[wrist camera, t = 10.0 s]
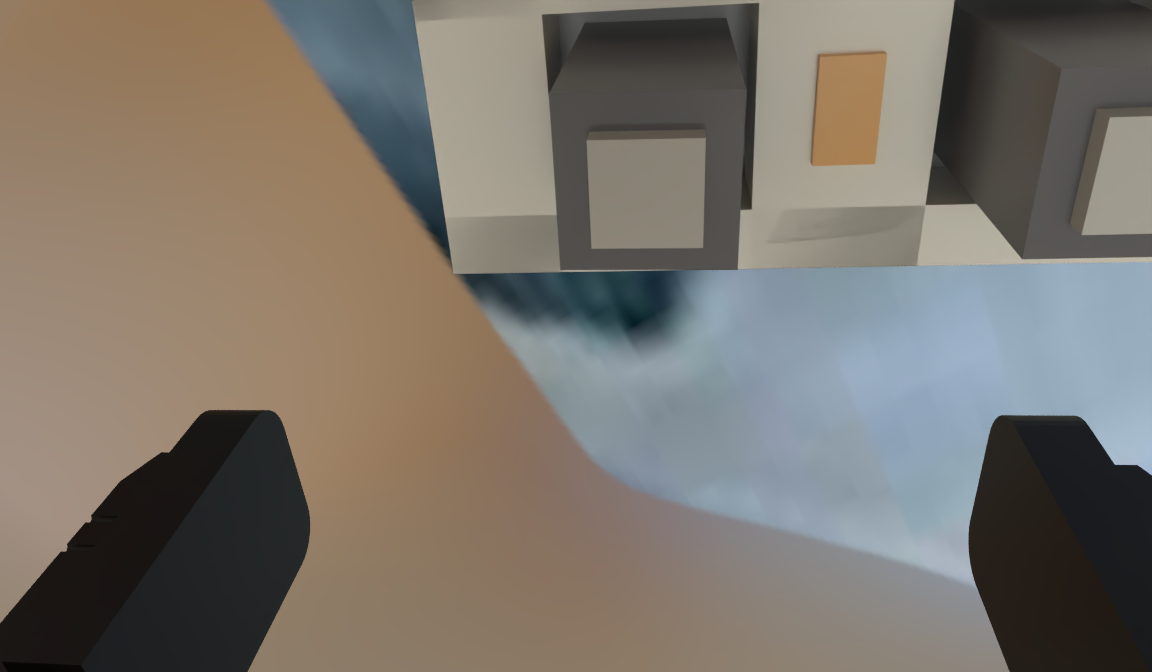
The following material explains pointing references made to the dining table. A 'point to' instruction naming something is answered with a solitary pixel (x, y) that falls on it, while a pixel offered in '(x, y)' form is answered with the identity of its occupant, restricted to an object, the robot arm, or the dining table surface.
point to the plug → (649, 147)
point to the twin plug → (1053, 123)
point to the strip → (771, 134)
